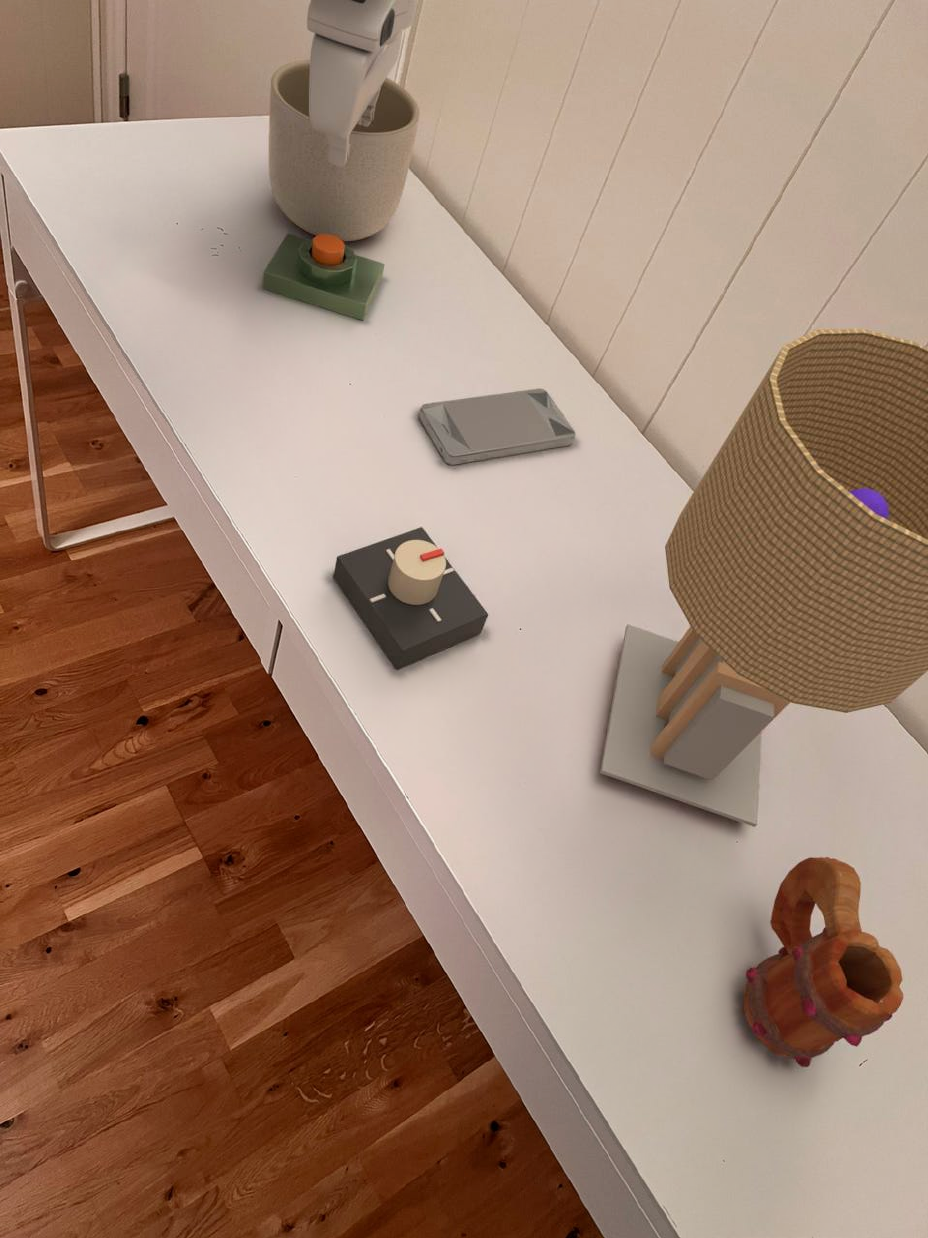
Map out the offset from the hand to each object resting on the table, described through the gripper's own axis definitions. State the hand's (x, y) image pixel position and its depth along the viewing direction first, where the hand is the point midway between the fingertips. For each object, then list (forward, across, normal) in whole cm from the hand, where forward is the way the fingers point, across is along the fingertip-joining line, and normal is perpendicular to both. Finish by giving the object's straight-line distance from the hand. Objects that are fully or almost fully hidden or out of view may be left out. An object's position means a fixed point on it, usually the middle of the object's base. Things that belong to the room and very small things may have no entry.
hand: (350, 141), depth 92 cm
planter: (+18, -15, -5) cm, 24 cm away
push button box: (+18, -1, -1) cm, 18 cm away
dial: (+15, +42, +19) cm, 48 cm away
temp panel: (+18, +42, +19) cm, 49 cm away
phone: (+18, +15, +23) cm, 33 cm away
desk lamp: (+18, +46, +46) cm, 67 cm away
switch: (+14, -1, -1) cm, 14 cm away
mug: (+18, +66, +54) cm, 87 cm away
